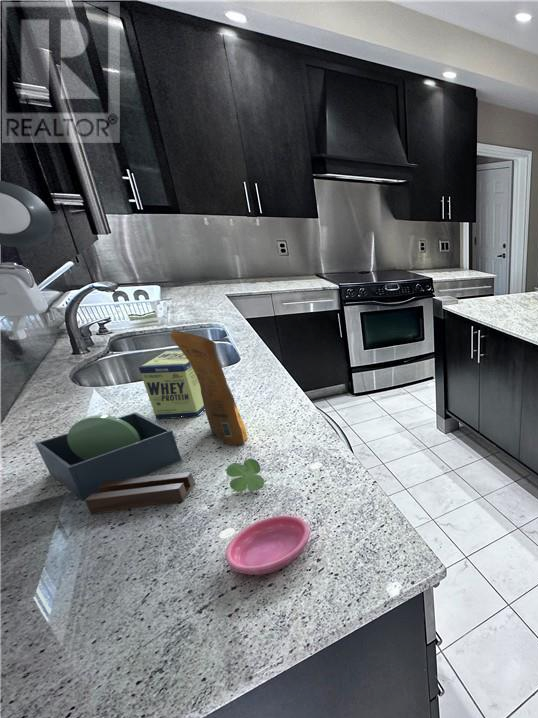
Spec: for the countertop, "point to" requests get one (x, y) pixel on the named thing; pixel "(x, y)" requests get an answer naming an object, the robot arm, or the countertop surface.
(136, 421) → the tub
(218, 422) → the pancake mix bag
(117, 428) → the plate
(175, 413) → the protein box
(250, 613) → the countertop surface
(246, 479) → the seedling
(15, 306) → the robot arm
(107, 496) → the plate stand
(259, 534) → the saucer
